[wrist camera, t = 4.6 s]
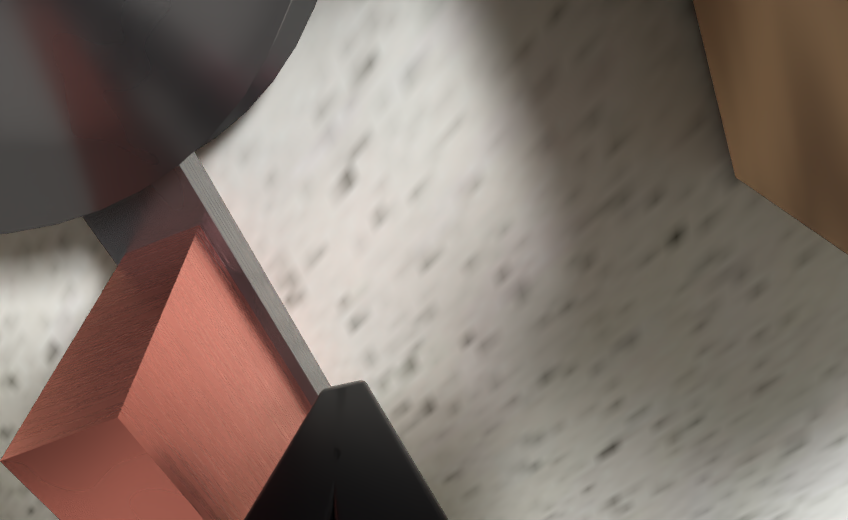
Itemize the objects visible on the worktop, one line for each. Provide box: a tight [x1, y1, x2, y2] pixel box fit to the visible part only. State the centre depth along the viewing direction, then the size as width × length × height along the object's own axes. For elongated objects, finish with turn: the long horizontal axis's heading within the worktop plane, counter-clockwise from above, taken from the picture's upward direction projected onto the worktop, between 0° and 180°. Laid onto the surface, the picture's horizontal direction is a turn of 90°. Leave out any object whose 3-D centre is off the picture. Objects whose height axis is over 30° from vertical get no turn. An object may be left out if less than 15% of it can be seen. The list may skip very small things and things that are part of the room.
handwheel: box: [0, 0, 331, 520], centre depth 7 cm, size 16×9×5 cm, turn 20°
